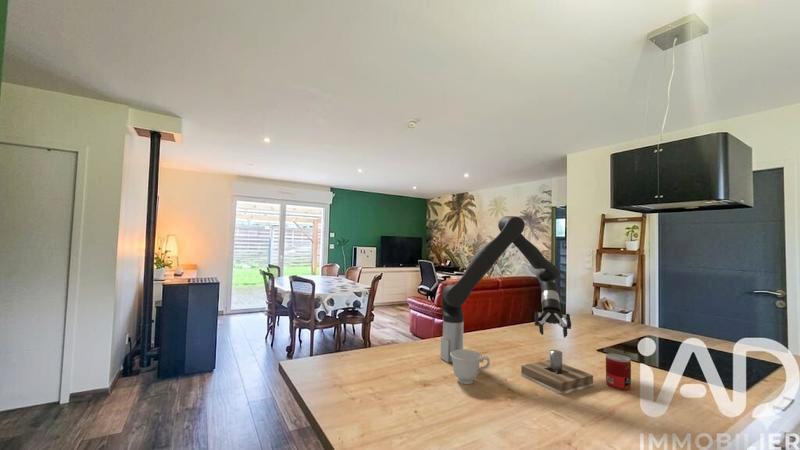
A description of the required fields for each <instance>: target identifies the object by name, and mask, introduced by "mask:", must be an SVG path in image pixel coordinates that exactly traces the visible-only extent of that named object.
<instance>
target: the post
mask: <svg viewBox="0 0 800 450" xmlns="http://www.w3.org/2000/svg"><path fill="white" fill-rule="evenodd" d="M549 360H550V371H551V372H553V373H555V374H562V363H563V352H562V351H561V350H557V349H550V350H549Z"/></svg>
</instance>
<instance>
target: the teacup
mask: <svg viewBox="0 0 800 450" xmlns="http://www.w3.org/2000/svg"><path fill="white" fill-rule="evenodd" d="M450 355H451V356H452V361H453V362H452V368H453V369H452V370H453V374H454V376H455V377H456V378H457V381H458V382H459V383H461V384H464V385H471V384H473V382H474V380H475V379H476V378H477V377H478V374H479V373H480V372H481V371H483V370H486V369H488V367H489V366H490V364H491V363H490V358H489V357H488V356H482V354H481V352H478V351H475V350H470V349H464V348H463V349H460V350H454V351H452V352H451V353H450ZM484 360H486V361H487V363H486V365H484V366H481V367H480V363H483V362H484Z"/></svg>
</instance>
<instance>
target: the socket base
mask: <svg viewBox="0 0 800 450" xmlns="http://www.w3.org/2000/svg"><path fill="white" fill-rule="evenodd" d="M520 369H521V371H520V372H521V374H520V376H521V377H523V378H525V379H528V380H529V381H531V382H533V383H536V384H538V385H540V386H542V387H544V388H546V389H548V390H550V391H552V392H554V393H557V394H558V395H561V396H562V395H565V394H568V393H573V392H577V391H581V390H583V389H587V388H591V387H593V386H594V375H593V374H591V373H589V372H586V371H583V370H580V369H578V368H575V367H573V366H571V365H568V364H566V363H563V362H562V374H555V373H553V372H551V371H550V359H548V360H543V361H538V362H532V363H527V364H522V365H521V368H520Z"/></svg>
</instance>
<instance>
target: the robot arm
mask: <svg viewBox="0 0 800 450" xmlns="http://www.w3.org/2000/svg"><path fill="white" fill-rule="evenodd" d="M525 224H526V223H525V221H524V219H523V218H522V217H520V216H517V215H516V216H515V215H510V216H509V215H506V216H503V217H501V218H500V219H499V221H498V223H497V226H498V230H499V233H498V234H497V236H495V238H493V239H492V240H490V241H489V242H487V243H486V244H485V245H483V246H481V247H480V248H479V249H478V251H477V252H476V253H475V254H474V255H473V257H472V258H471V259H470V261H469V263H468V264H467V267H466V269H465V271H464V273H463V275H462V276H461V277H460V278H459V280H458V281H457V282H456V283H455V284H446V286H445V287H443V289H442V293H441V313H442V336H441V337H440V353H439V355H440V357H439V358H440V359H442V360H443V361H444V362H446V363H453V361H452V356H451V355H450V353H451V352H452V351H454V350H460V349H464V318H465V317H464V314H463V310H462V309H463V308H462V306H463V304H464V303H466V301H467V299H468V298H469V296H470V295H471V293H472V292H473V290H474V289H475V288H476V286H477V284H479V282H480V281H481V280H482V279H483V278H484V277H485V276H486V274H487V273H488V272H489V271H490V270H491V269H492V268H493V266H494V265H495V263H496V262H497V261H498V260H499V259H500V258H501V256H502V255H503V254H504V252H505V251H506V250H507V249H508V248H509V246H510V245H512V244H513V245H514V246H515V247H516V248H517V249H518V251H520V253H521V254H522V255H523V256H524V257H525V259H526V260H527V262H528V263H529V264H530V265H531V267H533V269H535V270H538V271H536V274H535V275H536V278H537V280H538V282H539V285H540V289H541V310H542V311H541V312H540V311H537V310H535V312H534V326H535V327H536V326H537V327H538V330H539V334H540V335H541V336H544V326H545V325H546V324H547V323H548V324H554V325H558V326H559V327H561V328H562V336H563V338H566V337H568V330H571V329H572V321H571V315H570V313H566V314H562V309H561V308H562V307H561V300H560V295H559V289H558V284H557V283H556V282H554V281H557V280H559V279H560V278H561V271H560V269H559V268H558V266H556V265H555V264H554V263H552V262H550V261H549V260H548V259H547V258H545V256H544V255H543V253H542V252H541V251H540V250H539V248H537V247H536V246H535V245H534V244H533V243H532V242H531V241H529V240H528V239H527V238H526V237H525V236H524V235H523V231H525V227H526V226H525ZM541 317H542V319H541V321H539V318H541ZM564 321H565V322H566V323H565V322H564Z"/></svg>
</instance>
